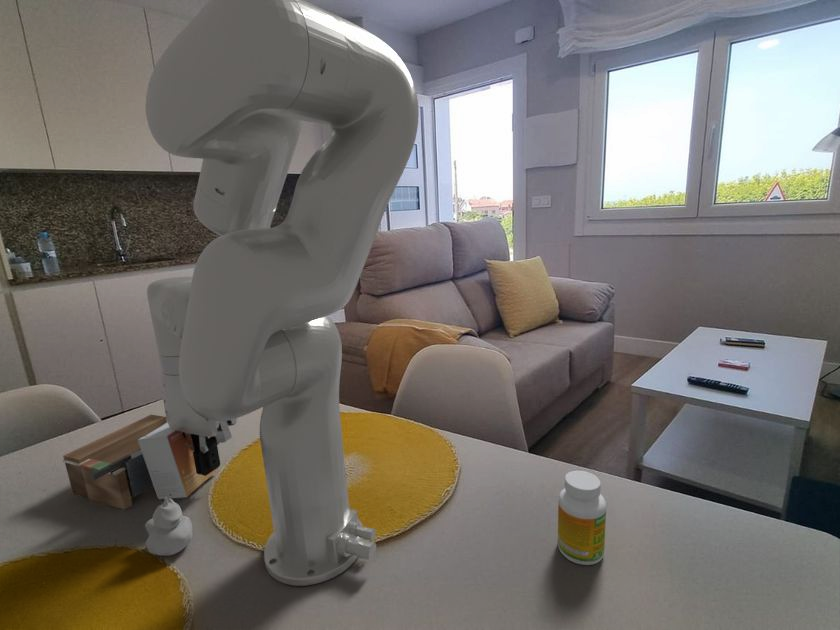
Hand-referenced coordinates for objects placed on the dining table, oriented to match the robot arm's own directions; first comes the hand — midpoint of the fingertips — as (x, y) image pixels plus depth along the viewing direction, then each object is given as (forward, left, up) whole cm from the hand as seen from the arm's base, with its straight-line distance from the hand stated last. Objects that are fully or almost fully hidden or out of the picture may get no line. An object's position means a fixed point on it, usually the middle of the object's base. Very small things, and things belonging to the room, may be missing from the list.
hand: (208, 470), depth 68 cm
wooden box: (+16, 0, -4) cm, 16 cm away
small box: (+5, 0, -4) cm, 6 cm away
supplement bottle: (-55, -5, -4) cm, 56 cm away
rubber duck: (-5, +11, -4) cm, 13 cm away
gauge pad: (+11, +2, -3) cm, 12 cm away
